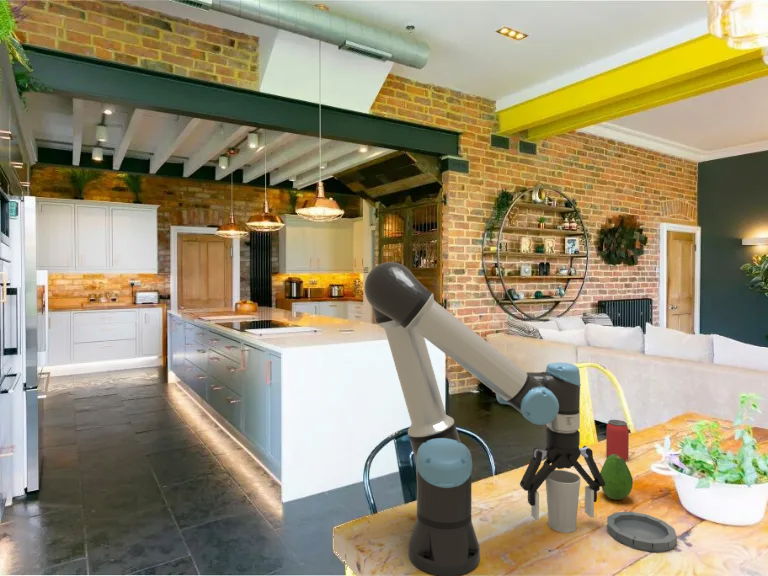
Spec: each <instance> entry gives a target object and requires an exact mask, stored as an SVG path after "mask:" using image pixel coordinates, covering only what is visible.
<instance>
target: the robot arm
mask: <svg viewBox="0 0 768 576" xmlns="http://www.w3.org/2000/svg"><path fill="white" fill-rule="evenodd" d="M364 293H365V298H366V301H368V303H369V304H370V306H371V308H372V311H373V315H374V319H375V321H376V325H377V326H378V327H380V328H383V330H384V331H385V334H386V337H387V342H388V345H389V349H390V352H391V355H392V359H393V362H394V367H395V370H396V373H397V377H398V381H399V384H400V387H401V391H402V393H403V398H404V401H405V405H406V408H407V413H408V415H409V419H410V422H411V424H410V426H409V428H408V429H407V435H408V438H409V443H410V446H411V449H412V453H413V457H414V461H415V472H416V473H415V474H416V521H415V522H414V526H413V529H412V532H411V536H410V539H409V542H408V557H409V560H410V561H411V562H412V564H413V565H414V566H415V567H416V568H418V569H419V570H421V571H423V572H425V573H428V574H431V575H435V576H461V575H464V574H468V573H470V572H472V571H473V570H475V569H476V567H478V565H479V563H480V560H481V556H480V555H481V548H480V544H479V541H478V537H477V534H476V531H475V528H474V524H473V520H472V472H473V467H474V466H473V461H472V453H471V451H470V449H469V448H468V447H467V445H465V444H464V443H462V442H461V440H460V437H459V433H458V429H457V427H456V423H455V420H454V418H453V417H451V416H449V415H447V414H446V411H445V407H444V404H443V403H444V402H443V400H442V397H441V393H440V392H441V391H440V389H439V386H438V382H437V379H436V374H435V371H434V367H433V363H432V361H431V358H430V354H429V351H428V350H429V349H428V346H427V343H426V340H427V341H428V342H429V343H431V344H432V345H433V346H434V347H436V348H437V349H439V350H440V351H441V352H442V353H444V354H445V355H446V356H448V358H449V359H451V360H453V362H455V363H456V364H458V365H459V366H460V367H462V368H463V369H464V370H466V371H467V372H469V373H470V375H472V376H473V377H475V378H476V379H477V380H478V381H480V382H481V383H482V384H483V385H485V386H486V387H487V388H489V390H491V391H492V392H494V393H495V396H496V400H497V402H498V403H499V404H501V405H508V406H511V407H512V408H514V409H515V410H516V411H518V412H519V413H520V414H522V416H523V418H525V419H526V420H527V421H529V422H530V423H532V424H534V425H537V426H544V425H546V426H547V428H546V429H545V431H546V434H545V443H546V448H545V449H538V447H534V448H533V450H532V457H531V459H530V462H529V463H528V466H527V468H526V470H525V471H524V474H523V475H522V478H521V480H520V483H519V487H521V488H522V490H523V491H525V492H527V502H528V504H529V506H530V509H531V511H530V512H531V513H530V514H531V515H530V516H531V517H532V518H533V519H534V520H535V522H538V521H540V493H539V491H538V490H539V488H540V487H541V485H543V483H544V482H546V480H545V479H546V478H547V477H548V476H549V474H550V473H551V472H553V471H554V470H563V469H571V468H572V467H573V468H574V469H575V470H576V471H577V473H578V474H579V475H580V476H581V478H582V479H584V481H585V482H586V484H588V485H584V513H586V514H587V516H588V517H589V518H590V519H591V518H594V516H595V515H594V514H595V511H594V510H595V507H594V506H595V505H594V504H595V503H597V501H598V492H600V490H601V488H602V487H604V486H605V482H604V480H603V478H602V476H601V474H600V472H601V471H600V469H599V468H598V466H597V463H596V462H595V459H594V456H593V453H594V452H593V450H592V449H591V448H589V446H588V445H583V446H582V448H581V447H580V445H581V443H580V442H581V441H580V439H581V438H580V436H581V435H580V433H581V432H580V431H579V429H580V423H581V421H580V419H581V418H580V413H581V411H580V405H581V404H580V401H581V398H580V397H581V385H582V384H581V375H580V369H579V367H578V366H577V365H575V364H573V363H570V362H569V363H568V362H550V363H548V364H547V365H546V369H545V371H542V372H541V371H540V372H538V371H536V372H534V371H527V372H526V371H525V370H524V369H522V368H521V367H520V366H519V365H517V364H516V362H514V361H512V360H511V359H510V358H508V356H506V355H504V354H503V353H502V352H501V351H500V350H498V349H497V348H495V347H494V346H493V345H492V344H490V343H489V342H488V341H487V340H485V339H484V338H483V337H482V336H481V335H479V334H478V333H476V332H475V331H474V330H473V329H471V328H470V327H469V326H467V325H466V324H465V323H464V322H463V321H461V320H460V319H458V317H456V316H454V314H452V313H451V312H450V311H448V310H447V309H445V307H443V306H442V305H441V304H440V303H438V302H437V301H436V300H435V299H434V298H435V296H434V293H433V292H432V291H430V290H429V289H428V288H427V287H426V286H424V285H423V283H421V282H420V280H419V279H417V278H416V277H415V275H414V274H413V273H412V271H411V270H410V269H409V268H408V267H407V266H406V265H404V264H401V263H399V262H394V261H386V262H385V261H384V262H382V263H379V264H378V265H376V266H375V267H373V268H372V269H370V271H369V273H368V274H367V276H366V278H365V281H364ZM581 456H582V457H583V459H584V461H585V462H586V463H585V464H586V465H587V467H588V469H589V471H590V473H591V475H592V477H593V478H592V477H591V475H589V474H588V472H587V471H586V470H585V469H584V467H583V466H582V465H581V464H580V462H579V461H578V459H579V458H580V457H581ZM544 457H546V459H545V458H544ZM544 459H545V460H544ZM543 460H544V461H543ZM542 461H543V465H542V466H541V464H542ZM540 466H541V467H540ZM601 486H602V487H601ZM600 487H601V488H600Z"/></svg>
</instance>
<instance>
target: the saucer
mask: <svg viewBox="0 0 768 576" xmlns="http://www.w3.org/2000/svg"><path fill="white" fill-rule="evenodd" d="M606 524H607V525H606V529H607V533H608V534H609V535H610V536H611V537H612V538H613V539H614V540H615V541H617V543H620V544H622V545H624V546H627V547H630V548H631V549H635V550H639V551H643V552H649V553H664V552H668V551H671V550H673V549H674V548H675V547H676V544H677V542H678V541H677V539H678V538H677V533H676V530H675V528H674V527H673V526H671V525H670V524H668V523H667V522H666V521H665V520H663V519H660V518H658V517H655V516H652V515H649V514H646V513H642V512H641V513H640V512H635V511H615V512H613V513H612V514H610V515H608V516H607V517H606Z"/></svg>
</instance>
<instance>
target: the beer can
mask: <svg viewBox="0 0 768 576" xmlns="http://www.w3.org/2000/svg"><path fill="white" fill-rule="evenodd" d="M629 433H630V431H629V427H628V424H627V422H626V421H624V420H619V419H610V420H608V422H607V424H606V437H605V439H606V441H605V442H606V445H605V447H606V448H605V449H606V451H605V452H606V453H605V456H606V458H607V457H608V456H610V455H612V454H617V455H619V456H620V457H621V458H623V459H624V461H625V462H627V461H628V460H629V453H630V452H629V450H630V449H629V447H630V445H629V443H630V442H629V440H630V439H629Z"/></svg>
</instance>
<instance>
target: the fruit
mask: <svg viewBox="0 0 768 576" xmlns="http://www.w3.org/2000/svg"><path fill="white" fill-rule="evenodd" d="M599 472H600V474H601V476H602V478H603V480H604V482H605V486H604V487H602V486H601V489H602V491H603V493H604V495H606V496H607V497H608V498H609V499H611V500H614V501H619V500H623V499H625V498H627V497H628V496H629V495H630V493H631V492H632V489H633V485H634V482H633V476H632V473H631V471H630V468H629V466H628V465H627V463H626V461H624V459H623V458H621V457H620V456H619V455H617V454H612V455H610V456H608V457H607V456H606V459H605V461H604V463H603V465H602V467H601V469H600V471H599Z"/></svg>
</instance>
